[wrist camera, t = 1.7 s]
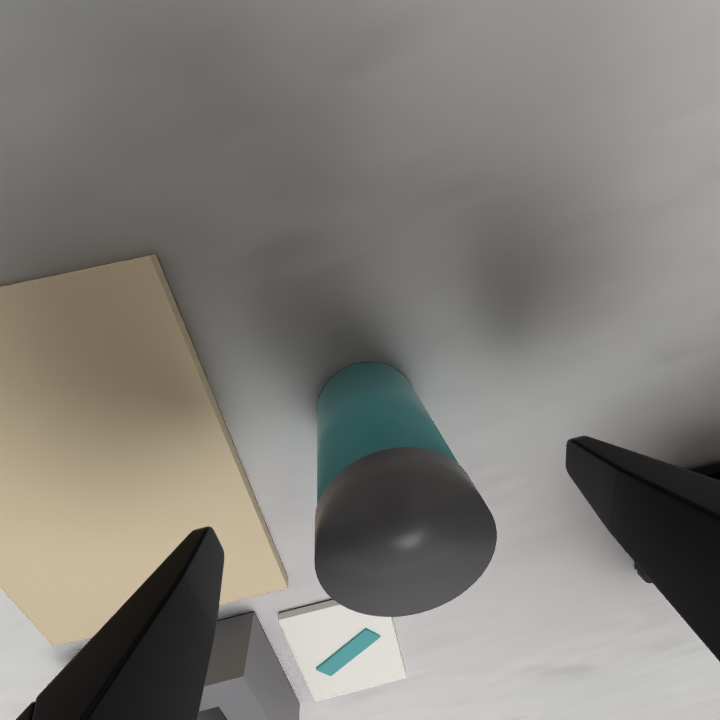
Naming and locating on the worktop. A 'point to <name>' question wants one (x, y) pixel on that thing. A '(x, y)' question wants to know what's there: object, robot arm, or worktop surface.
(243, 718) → the button housing
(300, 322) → the worktop surface
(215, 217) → the worktop surface
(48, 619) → the paper pad
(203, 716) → the button
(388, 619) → the card
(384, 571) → the teal grey-topped cylinder
